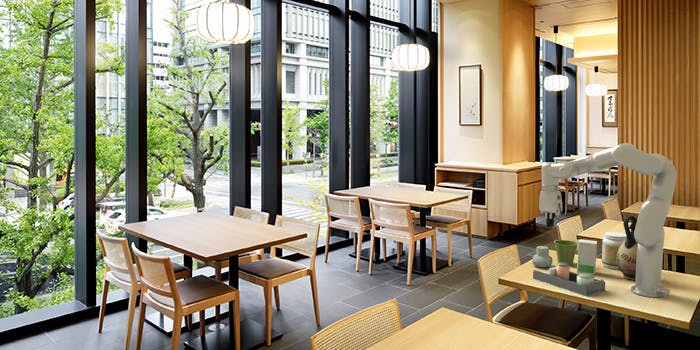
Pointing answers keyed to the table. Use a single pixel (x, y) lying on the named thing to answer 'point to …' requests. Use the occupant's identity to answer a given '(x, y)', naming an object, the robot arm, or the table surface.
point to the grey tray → (571, 283)
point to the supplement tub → (611, 248)
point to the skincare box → (586, 256)
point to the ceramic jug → (628, 250)
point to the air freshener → (542, 257)
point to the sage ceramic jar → (585, 278)
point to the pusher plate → (552, 271)
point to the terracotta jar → (563, 270)
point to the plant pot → (565, 250)
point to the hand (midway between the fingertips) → (550, 226)
